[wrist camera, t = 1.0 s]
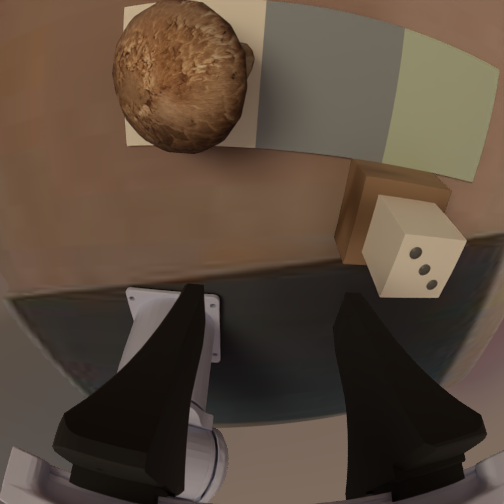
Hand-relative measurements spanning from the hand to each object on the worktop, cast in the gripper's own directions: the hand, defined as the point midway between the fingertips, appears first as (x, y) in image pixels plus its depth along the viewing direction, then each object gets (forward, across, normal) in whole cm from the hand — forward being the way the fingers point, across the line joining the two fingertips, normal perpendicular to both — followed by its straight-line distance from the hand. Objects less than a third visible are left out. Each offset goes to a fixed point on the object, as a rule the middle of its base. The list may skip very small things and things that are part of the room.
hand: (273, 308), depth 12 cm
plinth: (+10, -8, 0) cm, 13 cm away
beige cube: (+7, -8, 0) cm, 11 cm away
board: (+10, -3, -8) cm, 13 cm away
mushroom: (+10, +5, -8) cm, 13 cm away
